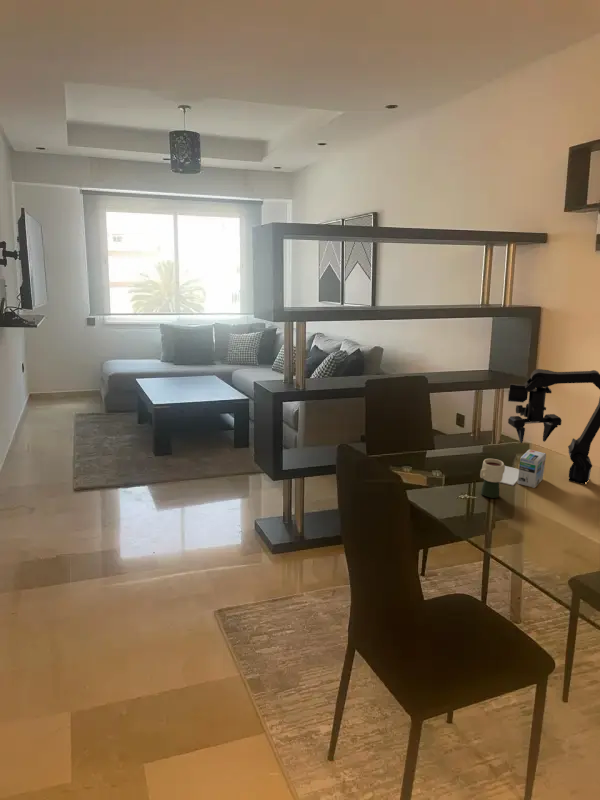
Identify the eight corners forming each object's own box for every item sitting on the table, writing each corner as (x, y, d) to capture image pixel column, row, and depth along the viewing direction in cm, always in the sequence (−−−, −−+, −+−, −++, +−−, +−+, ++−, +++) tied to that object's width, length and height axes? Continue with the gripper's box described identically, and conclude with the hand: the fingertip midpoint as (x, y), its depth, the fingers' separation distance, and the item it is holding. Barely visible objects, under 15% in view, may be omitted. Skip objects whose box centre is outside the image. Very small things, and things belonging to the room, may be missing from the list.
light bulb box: (534, 488, 221) (538, 461, 218) (516, 483, 225) (519, 457, 222) (543, 479, 229) (546, 452, 226) (525, 474, 233) (528, 448, 230)
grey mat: (525, 471, 236) (525, 470, 235) (513, 485, 223) (513, 484, 223) (495, 464, 242) (495, 463, 242) (481, 477, 230) (481, 476, 230)
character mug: (494, 488, 221) (497, 456, 217) (508, 496, 215) (512, 463, 211) (471, 494, 216) (474, 461, 212) (485, 502, 210) (489, 468, 206)
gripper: (549, 395, 234) (544, 433, 238) (503, 398, 232) (500, 436, 236) (564, 404, 223) (559, 443, 227) (516, 406, 221) (513, 446, 225)
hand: (532, 441), depth 229 cm, fingers open, 9 cm apart
